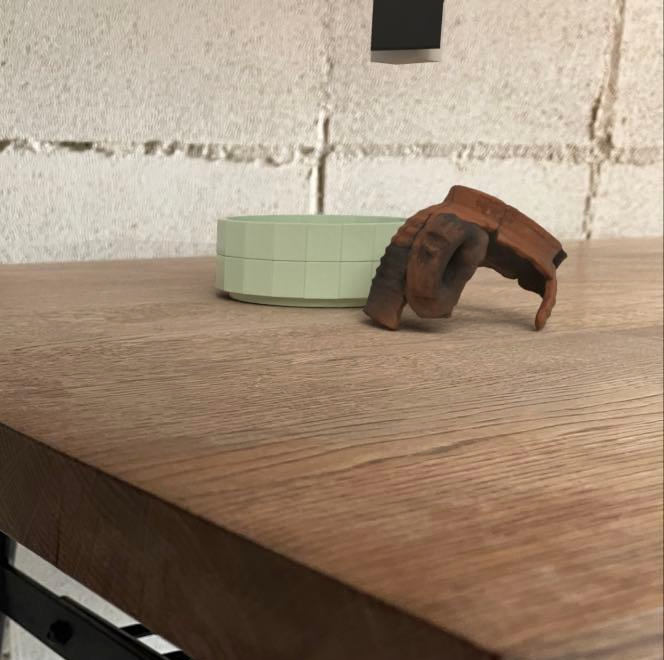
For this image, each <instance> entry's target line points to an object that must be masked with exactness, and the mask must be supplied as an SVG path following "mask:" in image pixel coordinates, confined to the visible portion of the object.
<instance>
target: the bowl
mask: <svg viewBox="0 0 664 660" xmlns="http://www.w3.org/2000/svg"><path fill="white" fill-rule="evenodd" d="M408 218H409V217H404V216H388V215H387V216H386V215H364V214H363V215H361V214H359V215H358V214H356V215H355V214H250V215H249V214H245V215H230V216H221V217H217V220H216V246H215V247H216V250H215V251H216V255H215V284H214V285H215V288H216V289H217V290H220V291H223V292H227V293H228V295H229V297H230V299H233V300H236V301H239V302H244V303H252V304H258V305H268V306H278V307H279V306H281V307H299V308H301V307H302V308H358V307H359V308H361V307H363V308H364V307H365V305H366V302H367V299H368V295H369V292H370V287H371V285H372V279H373V278H374V277H375V275H376V268H377V267H379V265H380V258H381V257H382V256H383V255H384V254H385V249H386V247H387V246H388V245H389V244H390V243H391V238H392V237H393V236H394V235H395V234H396V233H397V231H398V228H399V227H401V226H402V225H404V224H405V222H406V220H407V219H408Z"/></svg>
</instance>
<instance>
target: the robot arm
mask: <svg viewBox="0 0 664 660" xmlns="http://www.w3.org/2000/svg"><path fill="white" fill-rule="evenodd" d="M444 2H445V0H372V14H371V15H372V16H371V32H370V33H371V34H370V48H369V49H370V52H371V51H389V50H419V49H440V44H441V30H442V17H443V3H444Z"/></svg>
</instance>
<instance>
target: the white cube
mask: <svg viewBox="0 0 664 660" xmlns="http://www.w3.org/2000/svg"><path fill="white" fill-rule="evenodd" d="M445 16H446V1H444V3H443V17H442V30H441V44H440V49H419V50H389V51H371V50H370V63H378V64H384V65H385V64H387V65H395V66H397V65H398V66H400V65H413V64H427V63H440V62H442V59H443V44H444V33H445V32H444V31H445Z"/></svg>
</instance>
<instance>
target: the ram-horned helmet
mask: <svg viewBox="0 0 664 660" xmlns="http://www.w3.org/2000/svg"><path fill="white" fill-rule="evenodd" d="M407 218H408V219H407V220H406V222H405V224H404V225H402V226H401V227H399V228H398V231H397V233H396V234H395V235H394V236H393V237H392V238H391V243H390V244H389V245H388V246H387V247H386V249H385V254H384V255H383V256H382V257H381V258H380V265H379V267H377V268H376V275H375V277H374V278H373V279H372V285H371V287H370V292H369V295H368V299H367V302H366V305H365V306H363V308H362V311H363V314H364V315H365V316H367V317H369V318H370V319H372V320H374V321H376V322H377V323H379V324H381V325H383V326H385V327H387V328H389V329H391V330H392V331H396V330H397V329H399V327H400V324H401V319H402V314H403V311H404V308H405V307H406V305H407V304H408V307H409V308H410V309H411V311H412V312H413V313H414V314H415V315H416V316H417V317H418V318H420V319H449V318H451V317H452V315H453V310H454V308H455V307H456V306H457V305H458V303H459V300H460V298H461V295H462V293H463V291H464V289H465V286H466V284H467V283H468V282H469V281H470V280H471V279H472V278H473V276H474V275H475V274H476V271H477V269H478V268H486V269H491V270H493V271H494V272H496V273H497V274H499V275H501V277H503V278H504V279H508V280H511V281H512V280H515V281H516V280H517V285H518V286H519V287H520V288H521V289H523V290H524V291H527V292H531V293H534V294H536V295H538V296H539V297H540V298H541V302H540V305H539V307H538V309H537V311H536V313H535V317H534V326H535V328H536V330H537V331H540V330H542V329H543V328H544V327H546V324H547V320H549V318H551V316H552V310H553V309H554V307H555V306H556V303H557V299H556V298H557V293H558V279H557V270H558V269H559V268H560V266H561V264H562V263H563V262H564V260H566V259H567V258H568V253H567V252H566V251H565V250H564V249H563V244H562V242H560V240H559V239H557V238H556V236H554V235H552V234H551V233H550V232H548V231H547V230H546V228H544V226H541V225H540V224H539V223H537V222H536V221H535V220H534V219H532V218H531V217H529V216H527V214H525V213H524V212H522V211H520V210H519V209H518V208H516V207H514V206H512V205H510V204H508V203H506V202H505V201H504V200H502V199H500V198H498V197H496V196H494V195H491V194H489V193H487V192H484V191H482V190H479V189H476V188H473V187H469V186H465V185H463V184H454V185H452V186H451V187H450V189H449V190H448V193H447V195H446V196H445V197H444V199H443V201H442V202H440V203H436V204H431V205H429V206H428V207H425V208H423V209H420V210H418V211H417V212H416V213H415V214H413V215H411V216H410V217H407Z"/></svg>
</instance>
